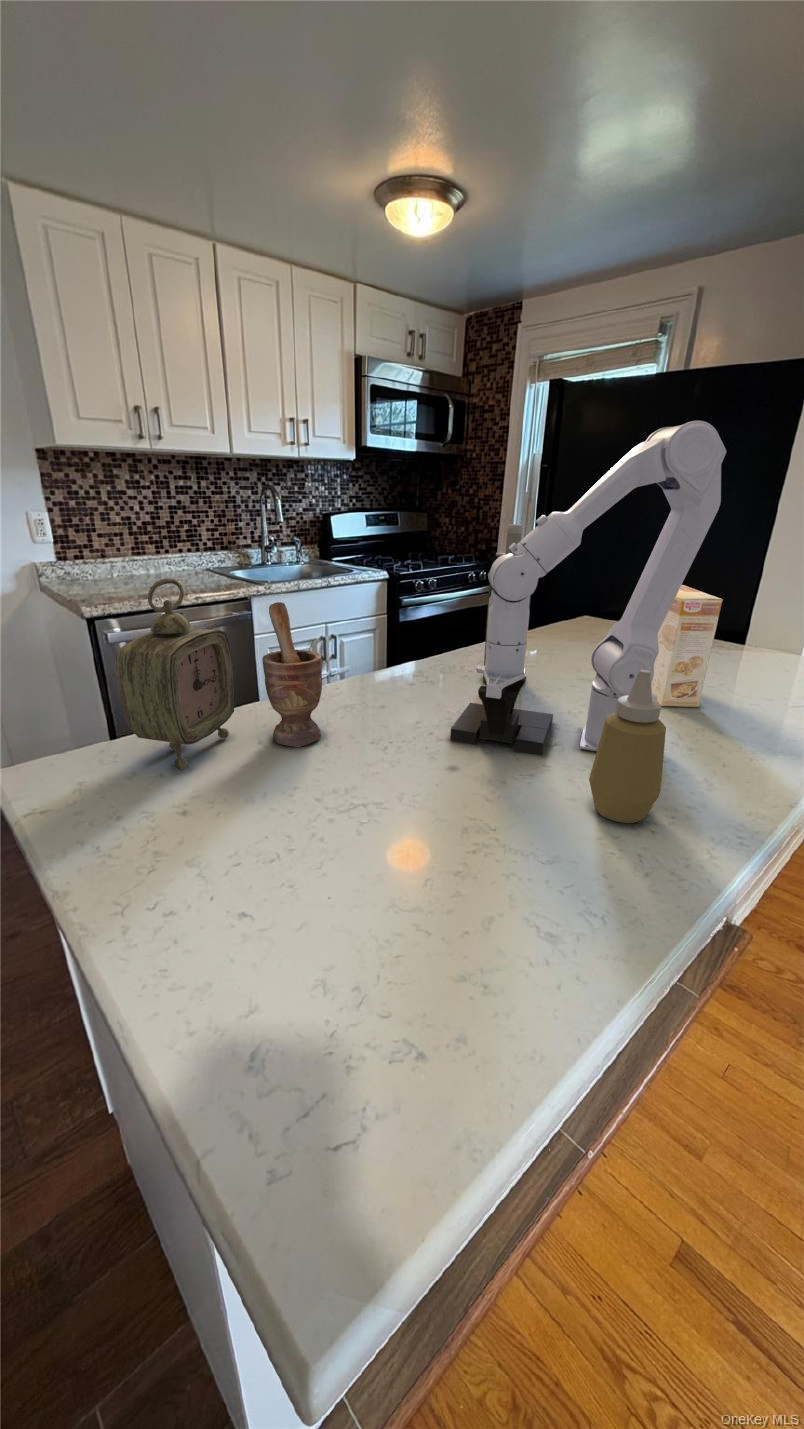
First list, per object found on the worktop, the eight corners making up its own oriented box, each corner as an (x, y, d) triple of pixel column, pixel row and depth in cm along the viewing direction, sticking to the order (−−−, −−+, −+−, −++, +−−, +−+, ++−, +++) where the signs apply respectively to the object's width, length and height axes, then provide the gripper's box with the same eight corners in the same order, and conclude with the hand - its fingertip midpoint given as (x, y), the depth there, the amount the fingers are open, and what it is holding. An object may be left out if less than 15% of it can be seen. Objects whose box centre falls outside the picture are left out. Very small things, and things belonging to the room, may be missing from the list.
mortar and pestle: (247, 731, 90) (234, 606, 83) (292, 716, 96) (283, 598, 88) (291, 754, 83) (281, 619, 75) (336, 736, 89) (331, 609, 81)
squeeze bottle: (652, 800, 72) (681, 664, 65) (657, 835, 65) (689, 687, 58) (586, 789, 74) (606, 657, 67) (583, 822, 67) (605, 678, 60)
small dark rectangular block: (517, 732, 89) (518, 714, 87) (512, 743, 85) (513, 725, 84) (485, 727, 90) (487, 709, 89) (479, 738, 86) (480, 720, 85)
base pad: (551, 725, 94) (553, 714, 93) (541, 755, 83) (543, 743, 82) (469, 713, 98) (470, 702, 97) (450, 740, 88) (450, 728, 87)
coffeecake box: (700, 707, 102) (724, 598, 94) (660, 707, 102) (681, 598, 94) (665, 680, 115) (684, 583, 108) (630, 680, 116) (647, 583, 108)
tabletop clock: (184, 778, 76) (154, 590, 66) (127, 769, 78) (90, 585, 69) (240, 735, 89) (222, 572, 79) (190, 728, 91) (167, 569, 81)
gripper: (490, 627, 89) (484, 706, 94) (467, 650, 77) (461, 741, 82) (535, 631, 87) (527, 713, 92) (519, 656, 74) (510, 749, 80)
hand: (499, 726), depth 87 cm, fingers closed on small dark rectangular block, 4 cm apart
